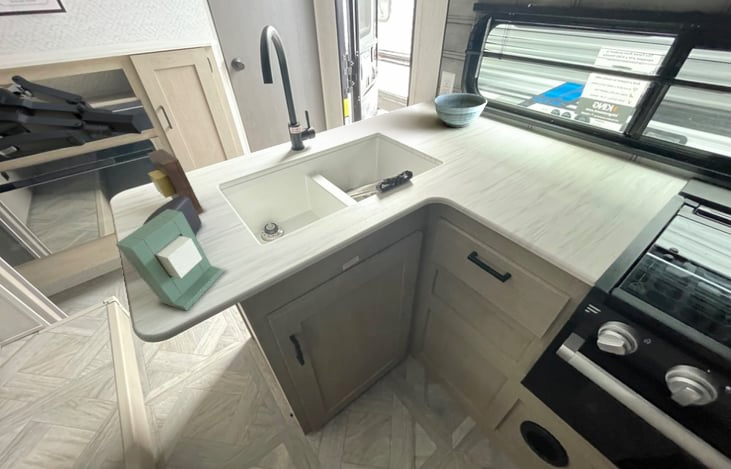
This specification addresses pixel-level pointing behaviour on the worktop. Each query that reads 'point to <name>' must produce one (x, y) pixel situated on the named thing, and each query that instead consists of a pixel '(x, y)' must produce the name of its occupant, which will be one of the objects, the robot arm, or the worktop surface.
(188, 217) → the leaning round-cornered charcoal block
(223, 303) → the worktop surface
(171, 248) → the protruding squarish ivory block
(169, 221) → the pale green angular block
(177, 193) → the brown switch panel
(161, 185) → the brass switch
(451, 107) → the bowl
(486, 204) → the worktop surface
